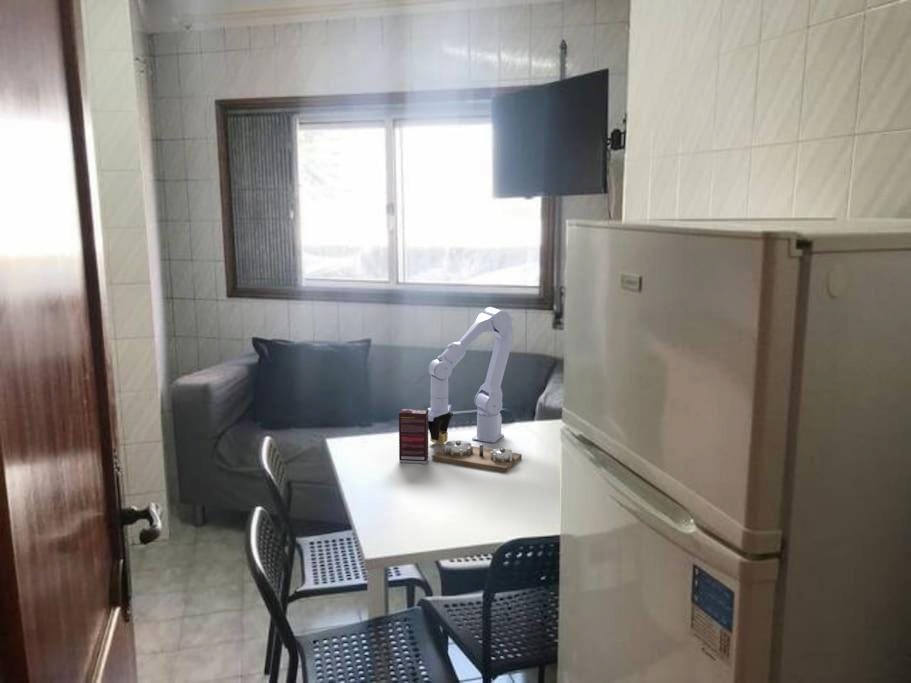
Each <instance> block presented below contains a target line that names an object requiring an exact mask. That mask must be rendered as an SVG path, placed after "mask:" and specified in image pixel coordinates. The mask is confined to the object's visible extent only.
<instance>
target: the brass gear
mask: <svg viewBox="0 0 911 683" xmlns="http://www.w3.org/2000/svg"><path fill="white" fill-rule="evenodd" d="M429 436H430V438H429V439H430V442H431V443H434V444H446V443H447V442H448V441H449V440H448V436H449V435H448V431H447V432H446V431H444V430H440V432H439V438H438V440H433V439H431V435H429Z"/></svg>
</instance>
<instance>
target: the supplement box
mask: <svg viewBox="0 0 911 683" xmlns="http://www.w3.org/2000/svg"><path fill="white" fill-rule="evenodd" d="M428 413H429V411H428V410H427V409H417V408H416V409H414V408H409V409H408V408H401V409H400V411H399V412H398V441H399V442H398V448H399V449H398V453H399V454H398V456H399V457H398V458H399V461H398V462H399V463H400V462H402V463H401V464H423V465H424V464H425V465H426V464H427V462H428V460H429V428H428Z"/></svg>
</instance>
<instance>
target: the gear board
mask: <svg viewBox="0 0 911 683" xmlns="http://www.w3.org/2000/svg"><path fill="white" fill-rule="evenodd" d="M433 460H434V461H433ZM521 460H522V453H517V452H515V451H512V449H509V448H505V447H499V448H493V449H492V448H486V447H484V444H483V443H482V444H481V443H480V444H479V447H478V446H474V445H473V444H472V442H469V441H467V440H457V439H456V440H447V442H445V443H443V447H442V449H440V450H439V451H437V452H436V453H435V454H433V455H432V461H433V462H440V463H446V464H452V465H459V466H462V467H468V468H469V467H470V468H476V469H480V470H488V471H493V472H498V473H503V474H506V473H508V472H509V469H510V470H511V469H512V468H513V467H514V466H515V465H516V464H517V463H519V462H520V461H521Z"/></svg>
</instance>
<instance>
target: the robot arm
mask: <svg viewBox="0 0 911 683" xmlns="http://www.w3.org/2000/svg"><path fill="white" fill-rule="evenodd" d="M486 332H492V333H493V334H494V336H495V337H496V338H495V343H494V346H493V349H492V353H491V358H490V361H489V365H488V369H487V374H486V377H485V380H484V383H482V385H480V386H479V390H478V391H477V393H476V395H475V396H474V404H475V406H476V407H477V412H476V435H475V436H473V437H472V438H471V439H472V440H473V441H474V440H475V441H481V442H484V443H485V442H486V443H496V442H497V441H498V440H500V439H501V438H503V437H504V436H505V435H504V433H502V420H503V418H502V414H501V413H500V412H501V411H502V408H503V395H504V394H503V390H502V387H501V386H502V382H503V379H504V375H505V371H506V367H507V363H508V360H509V355H510V351H511V349H512V345H513V341H514V337H515V336H514V329H513V317H511V315H510V314H509V313H508V312H507V311H506V310H502V309H498V308H496V307H493V306H488V307H486V308H485V309H484V310H483V311H482V312H480V313H479V314H478V316H477V318H476V320H475V321H474V322H473V324H472V325H471V326H470V327H469V329H468V330H467V331H466V332H465V333H464V334H463V335H462V337H461V338H460V339H459V340H458V341H454V342H453V341H452V342H451V343H449V344H448V345H446V347H447V348H446V349H445V350H444V351H443V352H442V353H440V355H438V356H437V359H433V360H432V361H430V363H429V366H428V367H427V371H428V373H429V375H430V407H428V408H427V409H426V410H428V432H429V434H430V435H431V439H433V440H438V438H439V432H440V430H444V431H446V432H448V428H449V425H450V422H451V420H452V418H453V415H454V413H453V412H452V404H449V378H450V377H451V375H452V372H453V369H454V367H455V366H457V365H458V363H459V362H460V361H461V360H462V359H463V357H465V356H466V354H467V353H466V352H467V348H469V347H470V346H471V344H473V343H474V341H476V339H478V338H479V337H480V336H481V335H482V334H483V333H486ZM430 435H429V436H430Z"/></svg>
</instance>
